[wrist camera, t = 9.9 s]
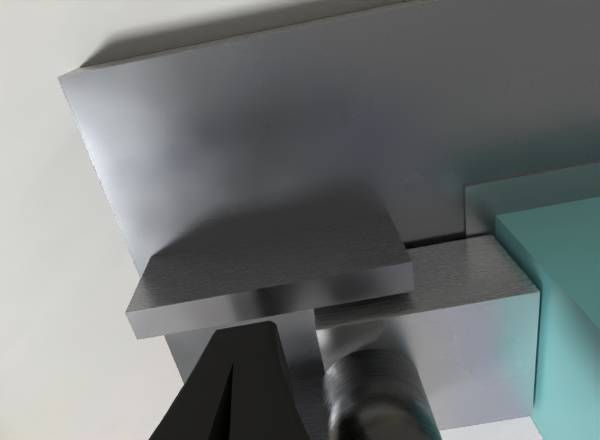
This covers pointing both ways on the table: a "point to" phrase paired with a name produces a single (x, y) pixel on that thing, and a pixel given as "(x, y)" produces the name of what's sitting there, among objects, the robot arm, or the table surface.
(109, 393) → the table surface
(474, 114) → the press bed
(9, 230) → the table surface
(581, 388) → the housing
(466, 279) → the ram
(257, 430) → the robot arm
